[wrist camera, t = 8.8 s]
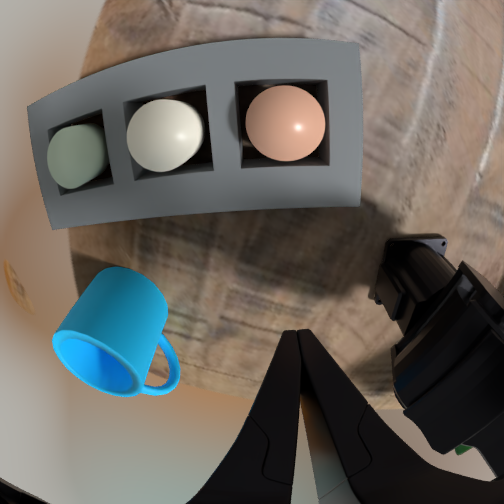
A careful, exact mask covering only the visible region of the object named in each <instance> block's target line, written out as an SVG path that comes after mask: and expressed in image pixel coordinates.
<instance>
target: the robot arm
mask: <svg viewBox="0 0 504 504" xmlns="http://www.w3.org/2000/svg"><path fill="white" fill-rule="evenodd" d="M442 242H443V243H442ZM393 243H394V244H393ZM447 243H448V241H447V239H446V238H445V237H417V238H392V239H389V240H388V241H387V242H386V245H385V250H384V256H383V261H382V264H381V265H380V268H379V273H378V278H377V282H376V287H375V290H376V293H375V297H374V301H375V303H376V304H377V305H382V304H383V305H384V307H385V309H386V311H387V313H388V315H389V317H390V319H391V320H392V321H395V320H396V321H397V323H398V325H399V327H400V329H401V331H402V334H403V336H404V337H403V338H402V339H401V340H400V341H399V342H398V344H395V345H394V346H393V347H392V348H391V359H392V372H393V388H394V393H395V396H396V398H397V400H398V402H399V403H400V405H401V406H402V407H403V408H404V409H405V410H404V411H403V414H404V415H405V416H406V417H407V418H409V419H410V420H412V421H413V422H414V423H415V424H416V425H417V426H418V427H419V429H420V430H421V431H422V433H423V434H424V436H425V438H426V439H427V441H428V443H429V444H430V446H431V448H432V449H433V450H435V451H437V452H439V453H441V454H446V453H448V452H450V451H451V450H453V449H455V448H456V447H458V446H459V445H465V446H470V447H474V448H476V449H477V450H478V451H479V453H480V454H481V456H482V457H483V459H484V460H485V461H486V463H487V464H488V466H489V467H490V469H491V470H492V472H493V473H494V475H495V476H496V478H495V479H494V480H492V481H490V482H489V481H482V480H478V479H474V478H470V477H466V476H462V475H459V474H455V473H452V472H448V471H445V470H442V469H439V468H437V467H435V466H433V465H431V464H429V463H428V462H426V461H425V460H424V459H423V458H421V457H420V456H419V455H418V454H417V453H416V452H415V451H414V450H413V449H412V448H410V447H409V446H408V445H407V444H406V443H405V442H404V441H403V440H402V439H401V438H400V437H399V436H398V435H397V434H396V433H395V432H394V431H393V430H392V429H391V428H390V427H389V426H388V425H387V424H386V423H385V422H384V421H383V420H382V419H381V418H380V416H379V415H378V414H377V413H376V412H375V410H374V409H373V408H372V407H371V405H370V404H368V402H367V400H366V399H365V398H364V397H363V395H362V394H361V393H360V392H359V390H358V389H357V388H356V387H355V385H354V384H353V383H352V382H351V380H350V379H349V378H348V377H347V375H346V374H345V373H344V372H343V370H342V369H341V368H340V367H339V365H338V364H337V363H336V362H335V360H334V359H333V358H332V357H331V355H330V354H329V353H328V351H327V350H326V349H325V348H324V346H323V345H322V344H321V343H320V341H319V340H318V339H317V338H316V336H315V335H314V334H313V333H312V331H311V330H310V329H300V330H297V332H296V330H285V331H283V333H282V336H281V338H280V341H279V343H278V346H277V348H276V351H275V353H274V356H273V358H272V361H271V363H270V365H269V368H268V370H267V373H266V375H265V377H264V380H263V382H262V385H261V387H260V389H259V392H258V394H257V396H256V398H255V401H254V403H253V405H252V407H251V410H250V412H249V414H248V415H249V416H247V418H246V420H245V422H244V425H243V427H242V429H241V431H240V433H239V435H238V437H237V438H236V440H235V442H234V443H233V445H232V447H231V448H230V450H229V451H228V453H227V454H226V456H225V457H224V459H223V460H222V461H221V463H220V464H219V466H218V467H217V469H216V470H215V471H214V473H213V474H212V475H211V477H210V478H209V479H208V481H207V482H206V483H205V484H204V486H203V487H202V488H201V489H200V490H199V491H198V493H197V494H196V495H195V496H194V497H193V498H192V499H191V500H190V501H188V502H187V503H186V504H291V495H292V485H293V478H294V469H295V458H296V448H297V436H298V423H299V408H300V404H301V409H302V414H303V419H304V424H305V429H306V435H307V440H308V445H309V450H310V456H311V461H312V467H313V472H314V478H315V483H316V489H317V494H318V499H319V504H504V297H503V296H502V295H501V294H500V292H499V291H498V290H497V289H496V288H495V287H494V286H493V285H492V284H491V283H490V282H489V281H488V280H487V279H486V278H485V277H484V276H482V275H481V274H480V273H478V272H477V271H476V270H475V269H473V268H472V267H471V266H469V265H468V264H467V263H465V262H464V261H463V260H462V262H461V263H460V265H459V266H458V267H459V268H458V270H456V269H455V267H454V266H453V265H452V264H451V263H450V262H449V261H448V260H447V259H446V258H445V257H444V255H445V251H446V247H447ZM391 244H393V246H391V247H390V245H391ZM379 299H380V300H379ZM367 404H368V405H367ZM0 504H50V503H48V502H46V501H44V500H42V499H40V498H38V497H37V496H34V495H32V494H30V493H28V492H26V491H24V490H22V489H20V488H18V487H16V486H14V485H12V484H11V483H9V482H7V481H5V480H4V479H2V478H0Z"/></svg>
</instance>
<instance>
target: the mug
mask: <svg viewBox="0 0 504 504" xmlns="http://www.w3.org/2000/svg"><path fill="white" fill-rule="evenodd" d="M167 317H168V307H167V303H166V301H165V299H164V296H163V294H162V293H161V292H160V290H159V289H158V288H157V287H156V285H155V284H154V283H153V282H151V281H150V280H149V279H147V278H146V277H145V276H144V275H142V274H140V273H138V272H136V271H133V270H131V269H129V268H123V267H110V268H105V269H104V270H102V271H101V272H99V273H98V274H97V275H96V277H95V278H94V279H93V280H92V282H91V283H90V284H89V286H88V287H87V288H86V290H85V291H84V292H83V294H82V295H81V296H80V298H79V299H78V300H77V302H76V303H75V305H74V306H73V307H72V309H71V310H70V312H69V313H68V314H67V316H66V318H65V319H64V320H63V322H62V323H61V325H60V326H59V328H58V329H57V331H56V332H55V334H54V336H53V339H52V343H53V348H54V351H55V352H56V354H57V356H58V358H59V359H60V361H61V362H62V363H63V364H64V365H65V367H66V368H67V369H68V370H69V371H70V372H72V373H73V374H74V375H75V376H76V377H77V378H79V379H80V380H82V381H83V382H85V383H86V384H88V385H90V386H92V387H93V388H95V389H98V390H100V391H102V392H105V393H108V394H111V395H115V396H121V397H131V396H136V395H138V394H139V393H144V394H149V395H154V396H156V395H163V394H167V393H169V392H170V391H172V390H173V389H174V388H176V386H177V384H178V382H179V380H180V365H179V361H178V357H177V355H176V353H175V351H174V349H173V347H172V346H171V344H170V343H169V341H168V340H167V339H166V337H165V336H164V335H163V334H162V330H163V328H164V325H165V322H166V319H167ZM157 344H159V346H160V347H161V349H162V350H163V352H164V354H165V356H166V358H167V360H168V364H169V368H170V373H169V378H168V380H167V382H166V383H165V384H164V385H162V386H158V387H153V386H148V385H145V384H144V383H145V380H146V376H147V374H148V371H149V368H150V365H151V362H152V359H153V356H154V353H155V350H156V347H157Z"/></svg>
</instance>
